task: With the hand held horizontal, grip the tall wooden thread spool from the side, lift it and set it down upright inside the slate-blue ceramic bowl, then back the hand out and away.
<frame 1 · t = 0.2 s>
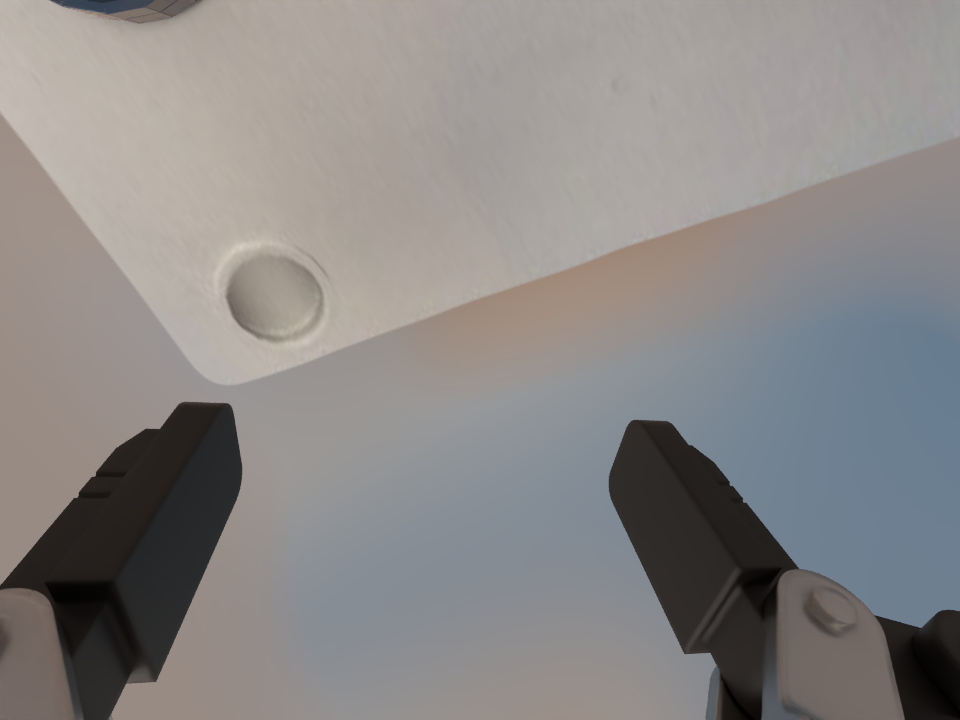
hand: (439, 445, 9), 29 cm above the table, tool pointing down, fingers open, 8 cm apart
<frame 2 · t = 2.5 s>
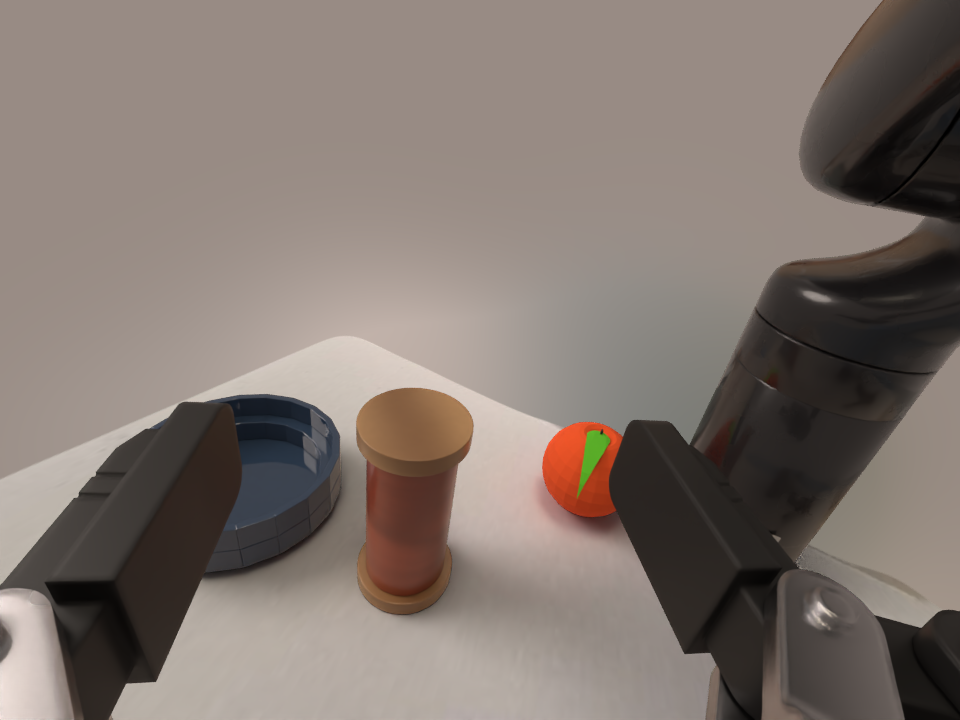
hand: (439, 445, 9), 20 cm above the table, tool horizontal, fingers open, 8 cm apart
bowl: (245, 493, 32), on the table
clementine: (575, 507, 36), on the table
spool: (404, 569, 29), on the table
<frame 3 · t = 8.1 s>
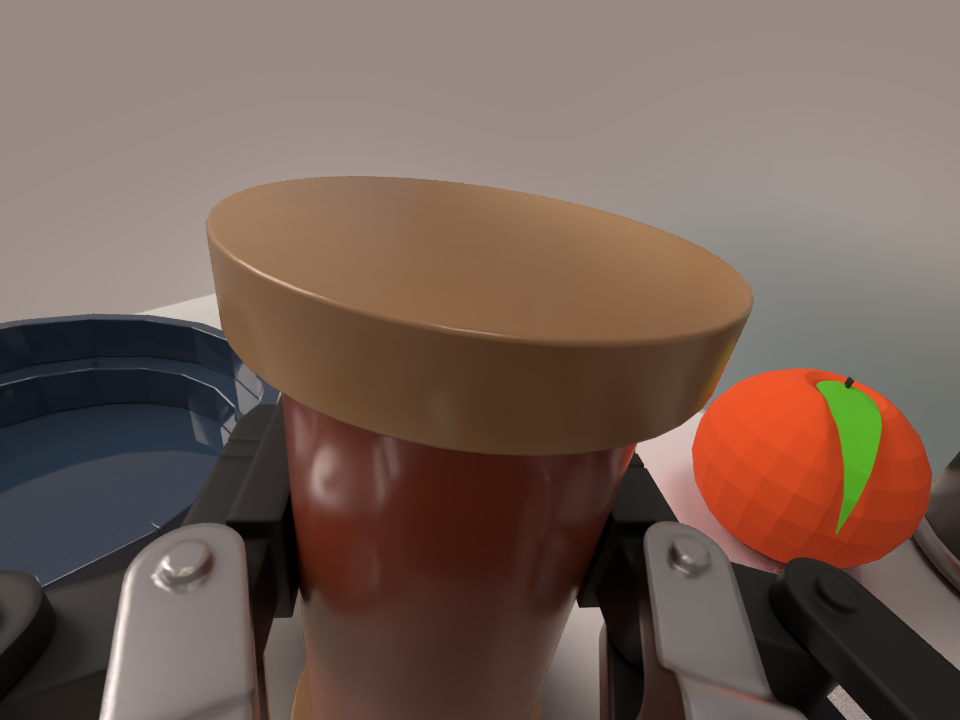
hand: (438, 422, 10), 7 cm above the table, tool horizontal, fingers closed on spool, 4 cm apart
bowl: (69, 511, 15), on the table
clementine: (754, 542, 18), on the table
spool: (418, 714, 11), on the table, touching gripper
when the fingers open (8 cm above the table, at t = 15.8 s): spool stays where it is, resting on bowl.
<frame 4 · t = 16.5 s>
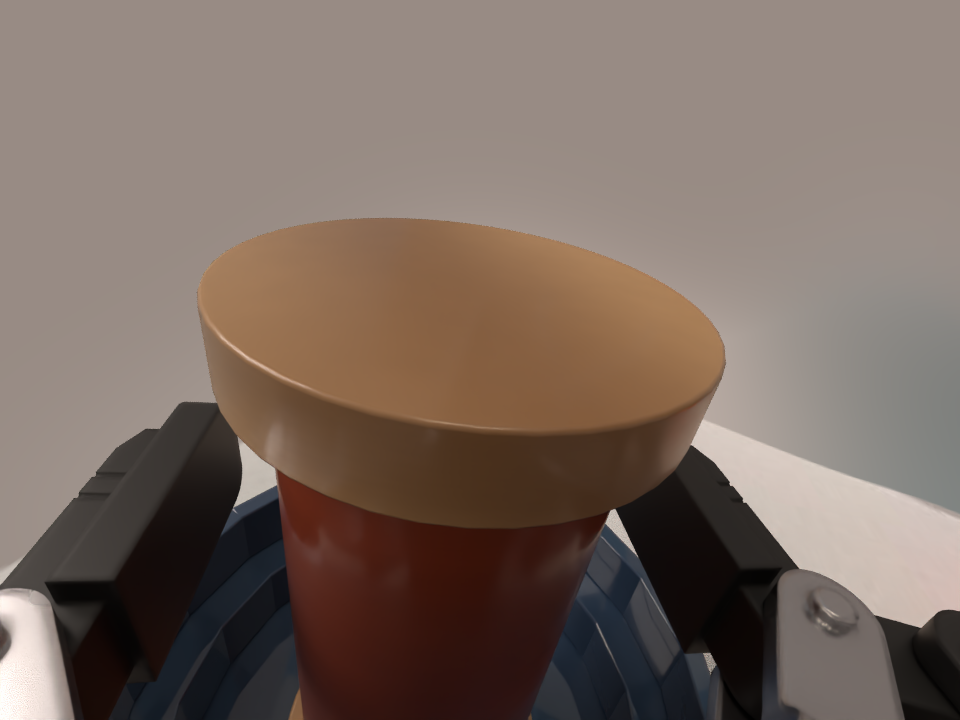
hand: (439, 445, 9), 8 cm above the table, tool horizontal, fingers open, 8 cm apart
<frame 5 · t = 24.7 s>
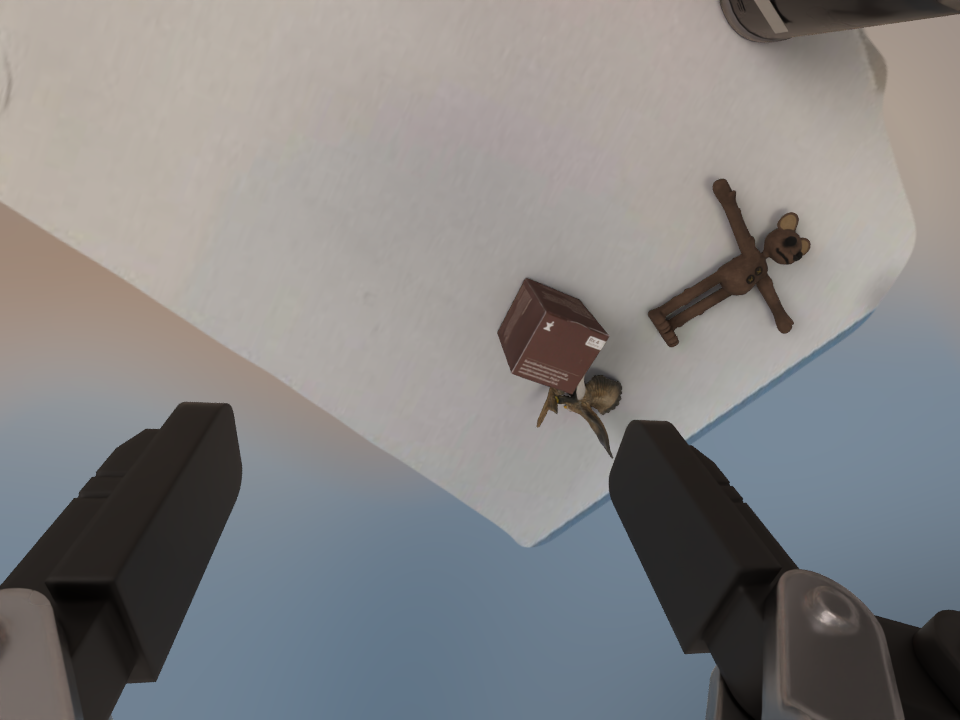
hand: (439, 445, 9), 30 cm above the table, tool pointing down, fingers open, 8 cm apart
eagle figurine: (578, 391, 47), on the table
bear figurine: (717, 275, 42), on the table
box: (538, 315, 42), on the table
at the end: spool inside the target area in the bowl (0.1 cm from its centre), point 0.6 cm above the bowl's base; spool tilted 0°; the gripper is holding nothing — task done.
